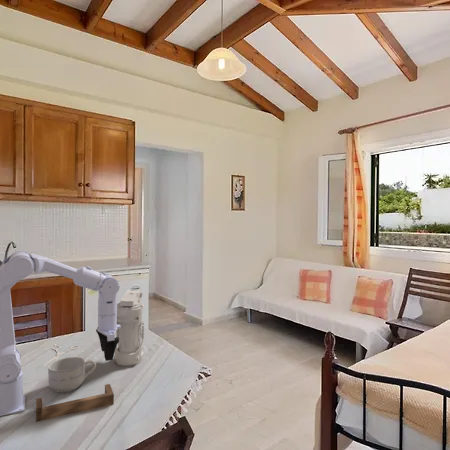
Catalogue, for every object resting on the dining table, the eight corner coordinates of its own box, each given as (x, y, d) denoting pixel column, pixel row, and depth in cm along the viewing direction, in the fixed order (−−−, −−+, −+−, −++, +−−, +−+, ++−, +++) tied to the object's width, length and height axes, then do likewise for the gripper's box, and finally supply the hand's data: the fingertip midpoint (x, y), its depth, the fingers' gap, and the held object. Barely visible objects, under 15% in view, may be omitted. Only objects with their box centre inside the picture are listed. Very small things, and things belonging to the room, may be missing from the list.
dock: (36, 422, 94) (35, 411, 94) (36, 409, 100) (36, 398, 100) (113, 404, 103) (113, 394, 103) (109, 393, 109) (109, 383, 109)
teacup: (44, 398, 105) (44, 372, 105) (51, 381, 116) (51, 357, 115) (94, 392, 109) (94, 367, 109) (96, 376, 120) (96, 353, 119)
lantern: (139, 366, 127) (140, 298, 126) (110, 366, 127) (111, 297, 126) (147, 351, 140) (148, 289, 139) (121, 351, 140) (121, 288, 139)
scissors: (81, 344, 145) (62, 365, 126) (81, 345, 145) (62, 368, 126) (54, 344, 145) (31, 366, 125) (54, 346, 145) (31, 368, 125)
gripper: (124, 318, 108) (124, 362, 109) (116, 305, 121) (115, 344, 122) (100, 321, 105) (100, 366, 106) (94, 308, 118) (94, 348, 118)
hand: (107, 355), depth 113 cm, fingers open, 7 cm apart
